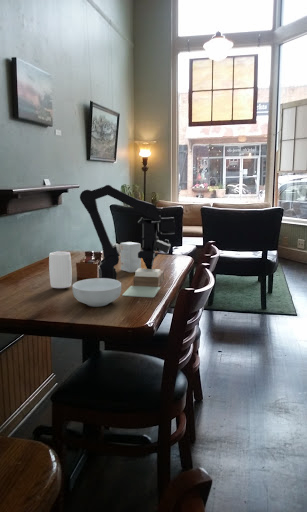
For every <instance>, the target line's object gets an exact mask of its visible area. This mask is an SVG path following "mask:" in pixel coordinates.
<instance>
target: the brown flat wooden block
mask: <svg viewBox="0 0 307 512" xmlns="http://www.w3.org/2000/svg"><path fill="white" fill-rule="evenodd" d="M164 280H165V270H164V269H160V275H159V276H158V277H138V276H135V275H133V286H147V287H161V285H162V284H163V282H164Z"/></svg>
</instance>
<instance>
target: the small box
mask: <svg viewBox="0 0 307 512" xmlns="http://www.w3.org/2000/svg"><path fill="white" fill-rule="evenodd" d="M119 245H120V246H119V247H120V251H119V253H120V270H121V271H124V272H127V273H135V271H136V270H137V269H139V268H141V269H142V258H138V253H139V252H140V251H141V250H142V247H141V246H142V244H141V243H139V242H132V241H126V242H120V243H119Z"/></svg>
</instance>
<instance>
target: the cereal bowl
mask: <svg viewBox="0 0 307 512" xmlns="http://www.w3.org/2000/svg"><path fill="white" fill-rule="evenodd" d="M71 287H72V288H71V290H72V294H73V297H74V298H75V299H76V300H77V301H78V302H80V303H83V304H84V305H85V304H86V305H87V306H88V307H93V308H94V307H104V306H105V307H106V306H107V305H109V304H110V303H113V302H115V301H116V300H117V299H118V298H119V297H120V296H121V294H122V282H121V281H120V280H118V279H117V280H114V279H108V278H99V277H95V278H86V279H82V280H78V281H76V282H73V284H71Z"/></svg>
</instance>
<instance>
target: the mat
mask: <svg viewBox="0 0 307 512" xmlns="http://www.w3.org/2000/svg"><path fill="white" fill-rule="evenodd" d="M161 288H162V287H161V286H159V287H147V286H134V285H130V286H129V287H128V288H127V289H126V290H125V291H124V293H122V295H121V296H122V297H134V298H135V297H138V298H140V297H141V298H155V296H156V295H157V294H158V292H159V291H160V289H161Z"/></svg>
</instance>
